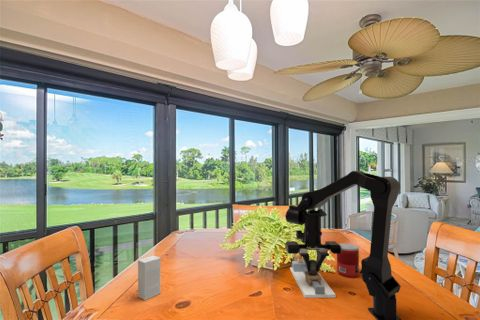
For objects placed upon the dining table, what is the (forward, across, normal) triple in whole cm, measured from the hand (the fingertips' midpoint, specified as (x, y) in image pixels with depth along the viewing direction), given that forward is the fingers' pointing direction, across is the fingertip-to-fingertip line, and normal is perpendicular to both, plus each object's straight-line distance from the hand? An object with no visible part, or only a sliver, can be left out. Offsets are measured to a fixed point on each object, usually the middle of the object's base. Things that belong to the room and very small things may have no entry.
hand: (312, 271), depth 93 cm
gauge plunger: (0, +2, -12) cm, 12 cm away
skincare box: (+5, +56, +6) cm, 57 cm away
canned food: (+5, -17, -10) cm, 21 cm away
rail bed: (+5, 0, -3) cm, 6 cm away
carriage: (+4, 0, 0) cm, 4 cm away
